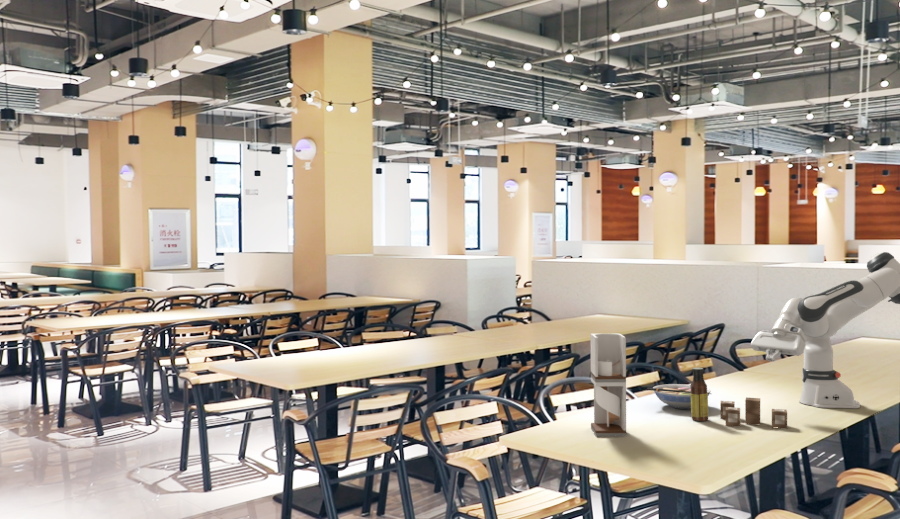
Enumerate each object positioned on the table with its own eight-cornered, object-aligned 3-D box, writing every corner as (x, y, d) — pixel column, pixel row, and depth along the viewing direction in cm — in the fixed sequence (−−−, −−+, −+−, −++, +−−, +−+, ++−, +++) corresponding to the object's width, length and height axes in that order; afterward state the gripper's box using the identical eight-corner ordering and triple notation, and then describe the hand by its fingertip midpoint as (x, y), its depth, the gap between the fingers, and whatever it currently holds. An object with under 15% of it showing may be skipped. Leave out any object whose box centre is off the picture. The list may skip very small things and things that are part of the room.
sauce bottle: (708, 418, 299) (708, 367, 298) (708, 422, 293) (708, 369, 292) (690, 417, 301) (690, 366, 300) (690, 421, 295) (690, 369, 294)
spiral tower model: (591, 428, 286) (590, 333, 285) (620, 428, 286) (619, 333, 284) (595, 436, 274) (595, 337, 273) (626, 436, 274) (625, 337, 273)
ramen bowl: (716, 403, 324) (716, 384, 324) (710, 415, 304) (710, 394, 303) (655, 399, 335) (655, 380, 335) (645, 410, 314) (645, 390, 314)
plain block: (760, 422, 292) (760, 398, 292) (759, 425, 288) (759, 401, 288) (746, 421, 294) (746, 397, 294) (745, 424, 290) (745, 400, 290)
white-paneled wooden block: (740, 423, 290) (740, 407, 290) (740, 427, 285) (740, 410, 285) (725, 422, 292) (725, 406, 292) (725, 426, 287) (725, 409, 287)
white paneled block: (734, 416, 301) (734, 401, 301) (734, 420, 296) (734, 403, 296) (720, 416, 303) (720, 400, 303) (720, 419, 298) (720, 402, 298)
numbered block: (786, 425, 287) (786, 409, 286) (787, 429, 282) (787, 412, 282) (771, 424, 288) (771, 408, 288) (772, 428, 283) (772, 411, 283)
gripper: (756, 325, 311) (742, 351, 306) (805, 329, 295) (791, 358, 289) (762, 335, 314) (748, 361, 309) (811, 340, 298) (797, 368, 292)
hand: (769, 360), depth 299 cm, fingers closed
